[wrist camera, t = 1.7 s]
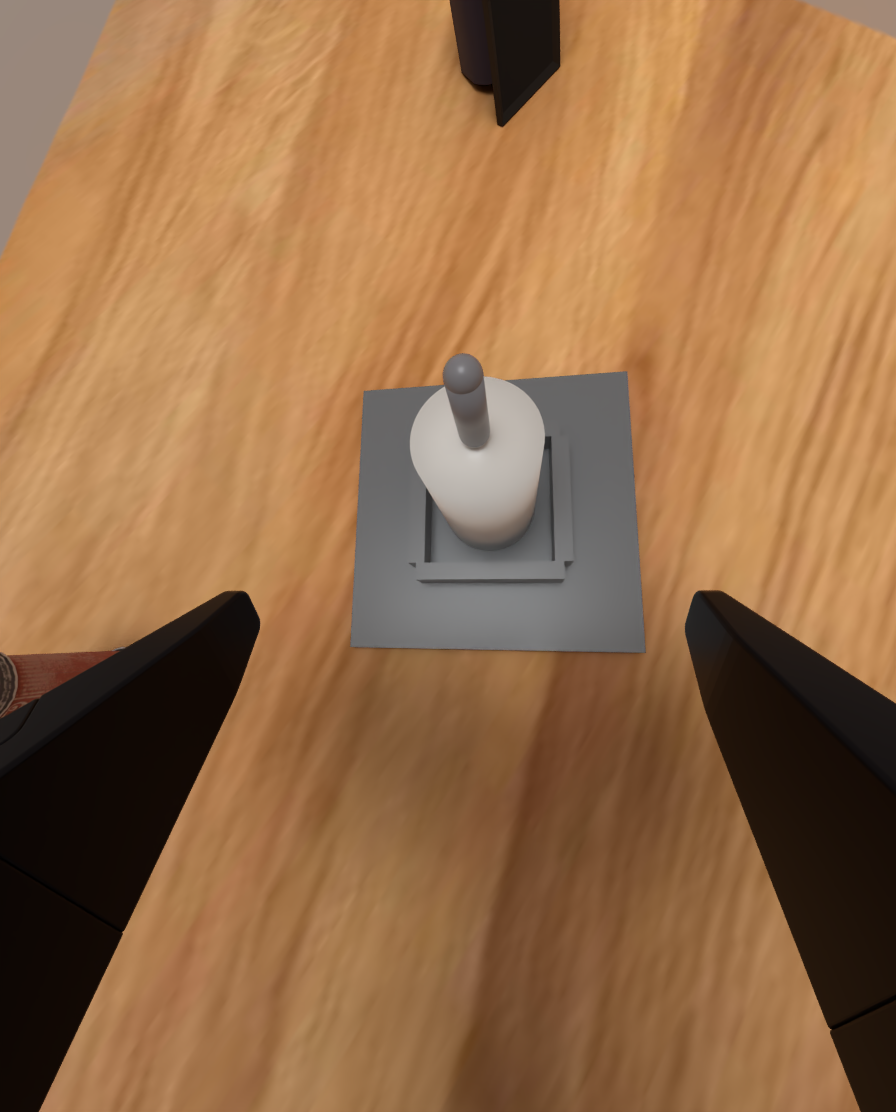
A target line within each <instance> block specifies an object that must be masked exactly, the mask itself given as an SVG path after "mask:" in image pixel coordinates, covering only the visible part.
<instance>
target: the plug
mask: <svg viewBox="0 0 896 1112" xmlns="http://www.w3.org/2000/svg"><path fill="white" fill-rule="evenodd" d="M443 382H444V385H445V387H443V388H441V389H440V390H439V391H437V392H436V393H435V394H433V395H432V396H431V397H430V398H429V399H428V400H427V401H426V402H425V404H424V405H423V406H422V408H421V409H420V411H419V412H418V414H417V416H416V418H415V421H414V423H413V426H412V430H411V435H410V452H411V458H412V461H413V464H414V467H415V469H416V471H417V473H418V475H419V476H420V478H421V480H422V481H423V483H424V484H425V486H426V488H427V489H428V491H429V493H430V494H431V496H432V498H433V499H434V501H435V503H436V504H437V506H438V507H439V509H440V511H441V512H442V514H443V516H444V517H445V519H446V521H447V522H448V524H449V526H450V527H451V529H452V530H453V532H454V533H455V535H456V536H457V537H458V538H459V539H460V540H461V541H462V542H463V543H465V544H467V545H468V546H470V547H472V548H475V549H478V550H484V551H495V550H500V549H504V548H506V547H509V546H511V545H513V544H514V543H516V542H517V541H518V540H519V539H521V538H522V537H523V535H524V534H525V533H526V532H527V530H528V529H529V527H530V525H531V522H532V519H533V515H534V509H535V502H536V495H537V489H538V482H539V476H540V469H541V463H542V456H543V450H544V443H545V431H544V424H543V420H542V417H541V414H540V412H539V410H538V408H537V406H536V405H535V403H534V402H533V401H532V399H531V398H530V397H529V396H528V395H527V394H526V393H525V392H524V391H523V390H521V389H520V388H518V387H517V386H515V385H513V384H511V383H509V382H507V381H504V380H501V379H497V378H493V377H484V375H483V369H482V366H481V364H480V362H479V361H478V360H477V359H476V358H475V357H474V356H472V355H470V354H465V353H462V354H457V355H455V356H453V357H452V358H450V359H449V360H448V362H447V363H446V365H445V367H444V370H443Z"/></svg>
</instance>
